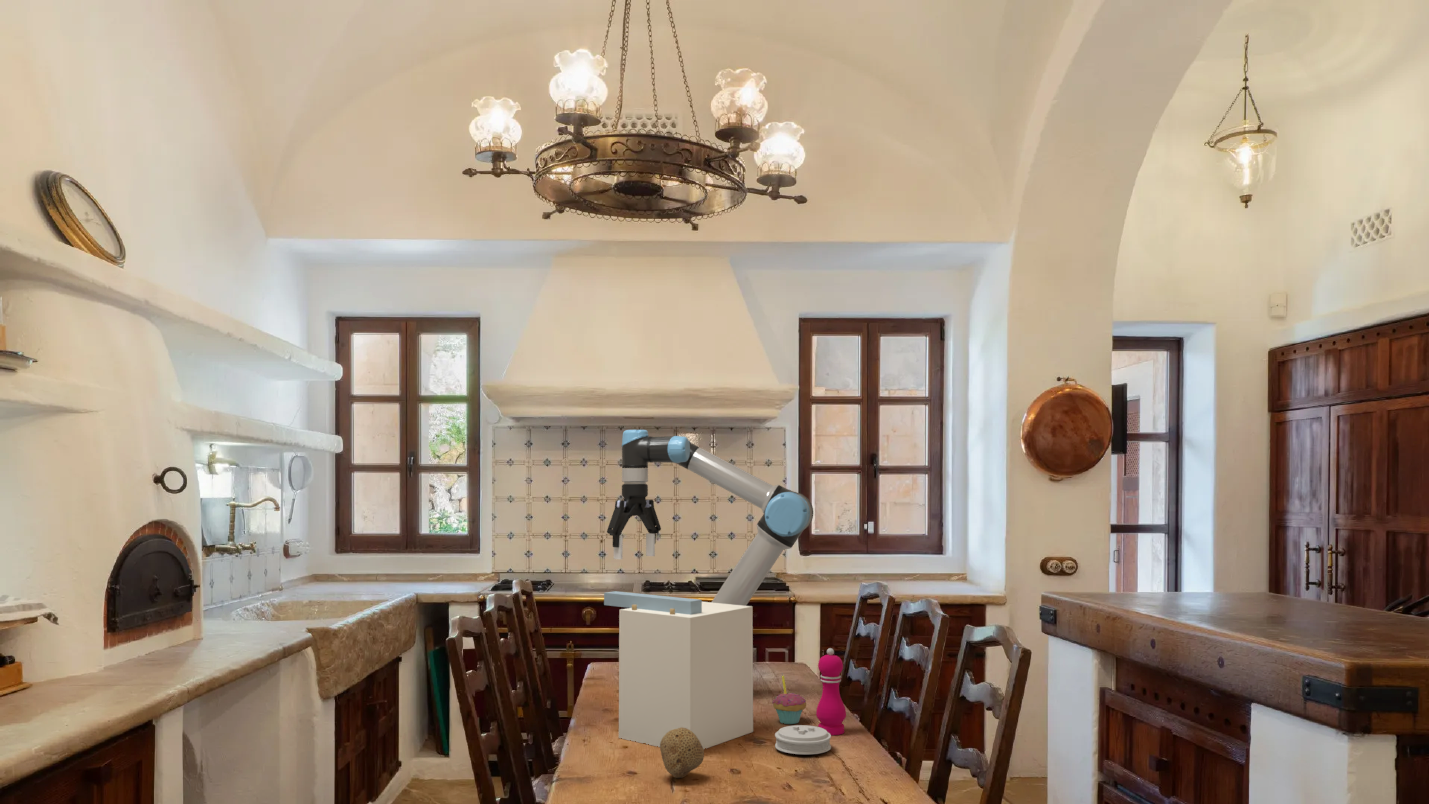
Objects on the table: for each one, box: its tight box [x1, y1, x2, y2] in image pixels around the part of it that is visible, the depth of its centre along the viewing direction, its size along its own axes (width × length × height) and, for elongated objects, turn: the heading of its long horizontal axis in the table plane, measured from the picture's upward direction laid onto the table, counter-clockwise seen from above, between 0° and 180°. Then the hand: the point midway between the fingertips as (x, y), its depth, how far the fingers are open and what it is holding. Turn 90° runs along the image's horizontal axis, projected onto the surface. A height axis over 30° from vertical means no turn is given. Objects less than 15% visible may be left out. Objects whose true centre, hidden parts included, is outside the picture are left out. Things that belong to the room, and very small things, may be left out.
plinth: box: [618, 601, 754, 750], centre depth 233 cm, size 22×24×31 cm
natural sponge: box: [659, 727, 705, 779], centre depth 199 cm, size 9×9×10 cm
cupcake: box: [771, 672, 807, 725], centre depth 244 cm, size 9×8×12 cm
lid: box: [774, 724, 832, 755], centre depth 219 cm, size 13×13×5 cm
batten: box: [603, 590, 703, 615], centre depth 233 cm, size 28×4×3 cm, turn 52°
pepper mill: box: [815, 647, 847, 736], centre depth 235 cm, size 7×7×20 cm
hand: (634, 557), depth 277 cm, fingers open, 13 cm apart
